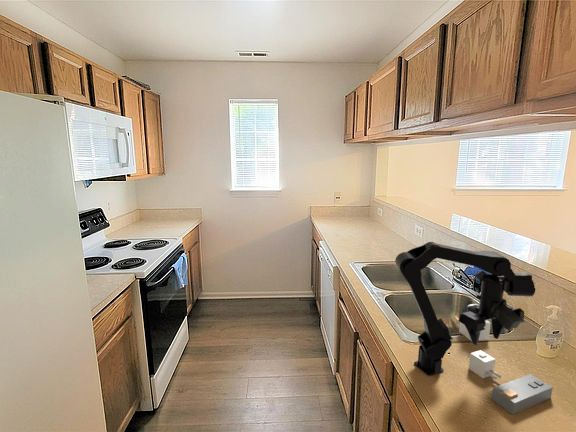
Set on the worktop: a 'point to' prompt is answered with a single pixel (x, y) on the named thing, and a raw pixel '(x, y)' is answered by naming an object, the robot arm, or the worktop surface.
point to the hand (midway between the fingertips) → (485, 341)
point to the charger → (482, 364)
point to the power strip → (521, 393)
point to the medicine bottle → (483, 334)
